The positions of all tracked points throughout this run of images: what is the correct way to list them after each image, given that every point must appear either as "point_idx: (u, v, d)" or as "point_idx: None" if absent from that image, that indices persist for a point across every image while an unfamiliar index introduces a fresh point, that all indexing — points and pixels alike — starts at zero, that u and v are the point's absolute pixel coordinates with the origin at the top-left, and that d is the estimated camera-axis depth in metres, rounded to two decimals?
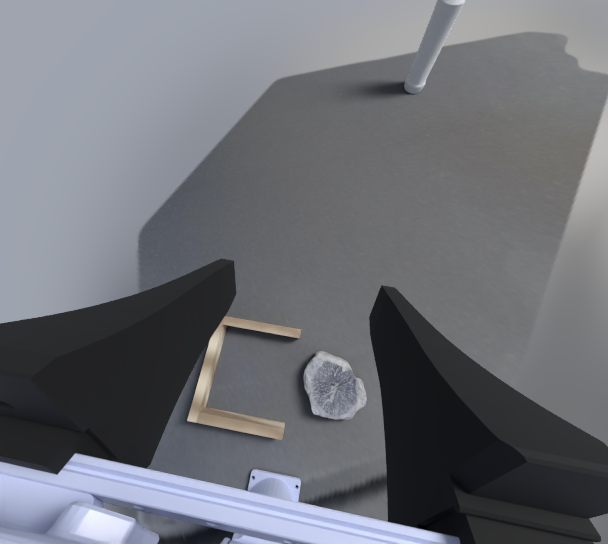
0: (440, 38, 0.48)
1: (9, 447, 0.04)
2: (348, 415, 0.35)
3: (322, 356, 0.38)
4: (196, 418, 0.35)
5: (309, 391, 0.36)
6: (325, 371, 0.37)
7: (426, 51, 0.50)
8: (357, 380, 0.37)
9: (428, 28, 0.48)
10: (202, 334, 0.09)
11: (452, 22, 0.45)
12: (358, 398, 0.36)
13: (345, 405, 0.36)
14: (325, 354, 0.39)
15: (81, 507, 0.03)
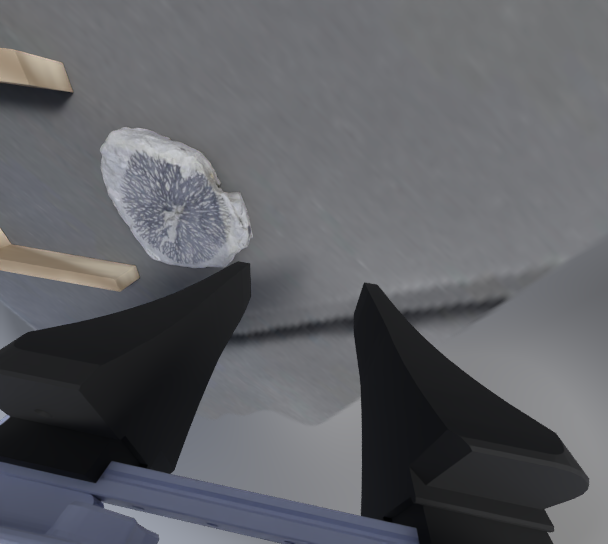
0: None
1: (48, 456, 0.04)
2: (214, 262, 0.18)
3: (123, 140, 0.14)
4: None
5: (129, 222, 0.17)
6: (143, 180, 0.15)
7: None
8: (221, 198, 0.15)
9: None
10: (221, 338, 0.09)
11: None
12: (229, 234, 0.17)
13: (204, 247, 0.17)
14: (136, 135, 0.14)
15: (81, 507, 0.03)
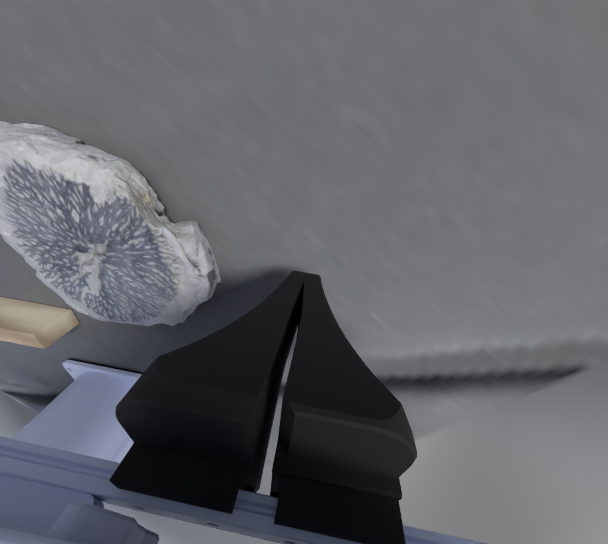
0: None
1: (186, 486, 0.04)
2: (162, 320, 0.12)
3: None
4: None
5: (33, 264, 0.12)
6: (35, 206, 0.10)
7: None
8: (160, 234, 0.10)
9: None
10: (287, 350, 0.09)
11: None
12: (180, 284, 0.11)
13: (146, 300, 0.12)
14: (14, 134, 0.09)
15: (81, 507, 0.03)
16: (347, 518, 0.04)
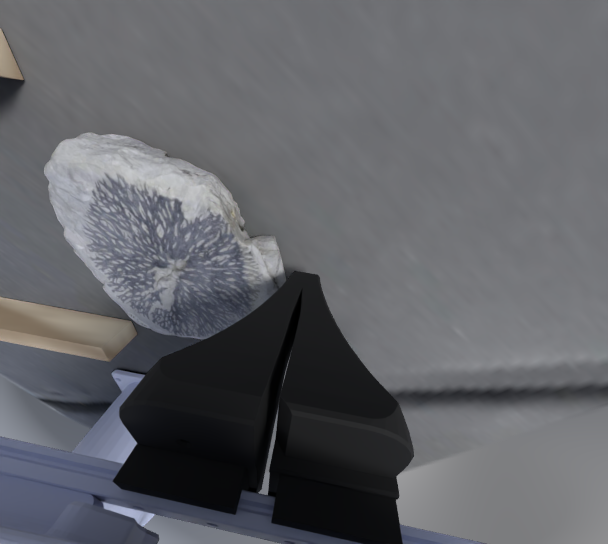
0: None
1: (190, 487, 0.04)
2: None
3: (82, 157, 0.08)
4: None
5: (101, 277, 0.11)
6: (119, 220, 0.09)
7: None
8: (248, 252, 0.09)
9: None
10: (289, 350, 0.09)
11: None
12: (257, 301, 0.11)
13: (217, 316, 0.11)
14: (106, 147, 0.08)
15: (81, 507, 0.03)
16: (344, 517, 0.04)
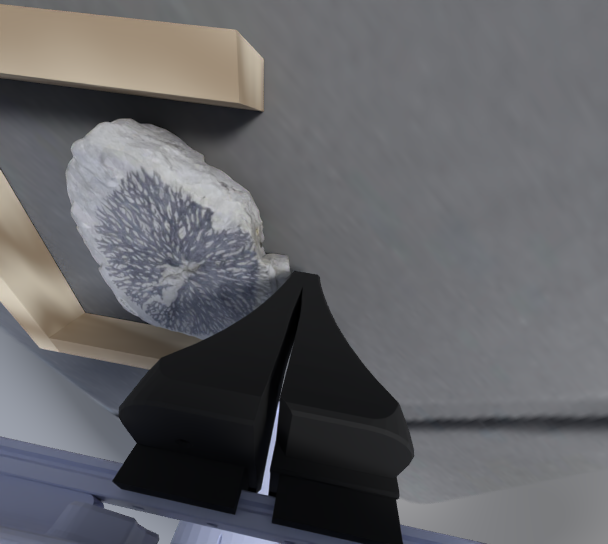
0: None
1: (189, 487, 0.04)
2: None
3: (121, 145, 0.08)
4: (54, 346, 0.15)
5: (99, 259, 0.11)
6: (141, 213, 0.09)
7: None
8: (265, 271, 0.10)
9: None
10: (288, 350, 0.09)
11: None
12: None
13: (215, 319, 0.12)
14: (146, 140, 0.08)
15: (81, 507, 0.03)
16: (344, 517, 0.04)
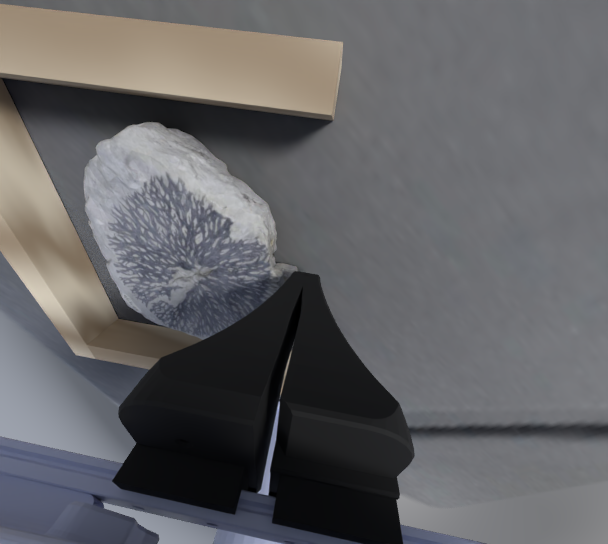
0: None
1: (189, 487, 0.04)
2: None
3: (148, 150, 0.08)
4: (90, 353, 0.15)
5: (108, 254, 0.11)
6: (160, 216, 0.09)
7: None
8: (276, 281, 0.10)
9: None
10: (288, 350, 0.09)
11: None
12: None
13: (220, 322, 0.12)
14: (173, 146, 0.08)
15: (81, 507, 0.03)
16: (345, 518, 0.04)
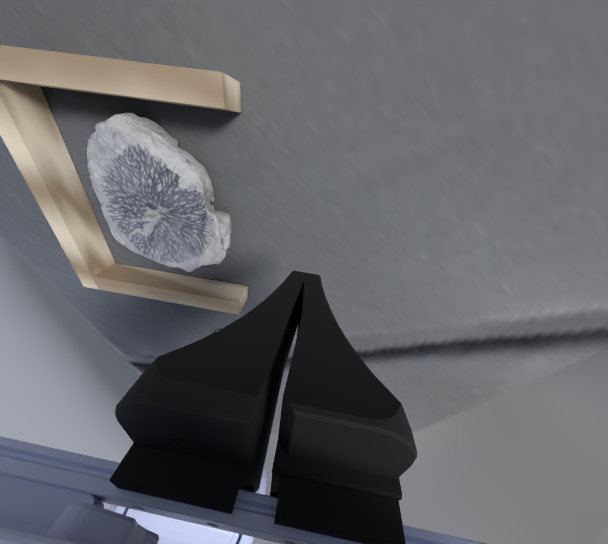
0: None
1: (186, 486, 0.04)
2: (182, 266, 0.18)
3: (126, 129, 0.14)
4: (94, 284, 0.21)
5: (101, 199, 0.16)
6: (134, 171, 0.15)
7: None
8: (211, 218, 0.16)
9: None
10: (287, 350, 0.09)
11: None
12: (207, 249, 0.17)
13: (178, 250, 0.18)
14: (142, 128, 0.14)
15: (81, 507, 0.03)
16: (347, 518, 0.04)
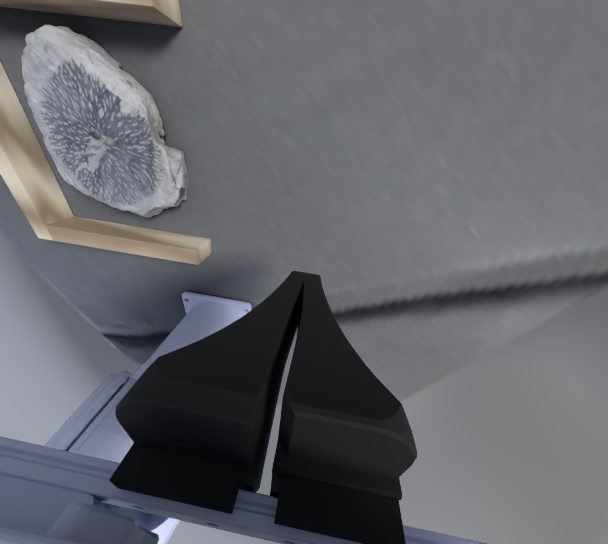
0: None
1: (186, 486, 0.04)
2: (135, 209, 0.18)
3: (58, 41, 0.13)
4: (49, 234, 0.20)
5: (44, 130, 0.15)
6: (73, 93, 0.14)
7: None
8: (158, 150, 0.15)
9: None
10: (287, 350, 0.09)
11: None
12: (159, 188, 0.17)
13: (128, 190, 0.17)
14: (77, 43, 0.13)
15: (81, 507, 0.03)
16: (347, 518, 0.04)
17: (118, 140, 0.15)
